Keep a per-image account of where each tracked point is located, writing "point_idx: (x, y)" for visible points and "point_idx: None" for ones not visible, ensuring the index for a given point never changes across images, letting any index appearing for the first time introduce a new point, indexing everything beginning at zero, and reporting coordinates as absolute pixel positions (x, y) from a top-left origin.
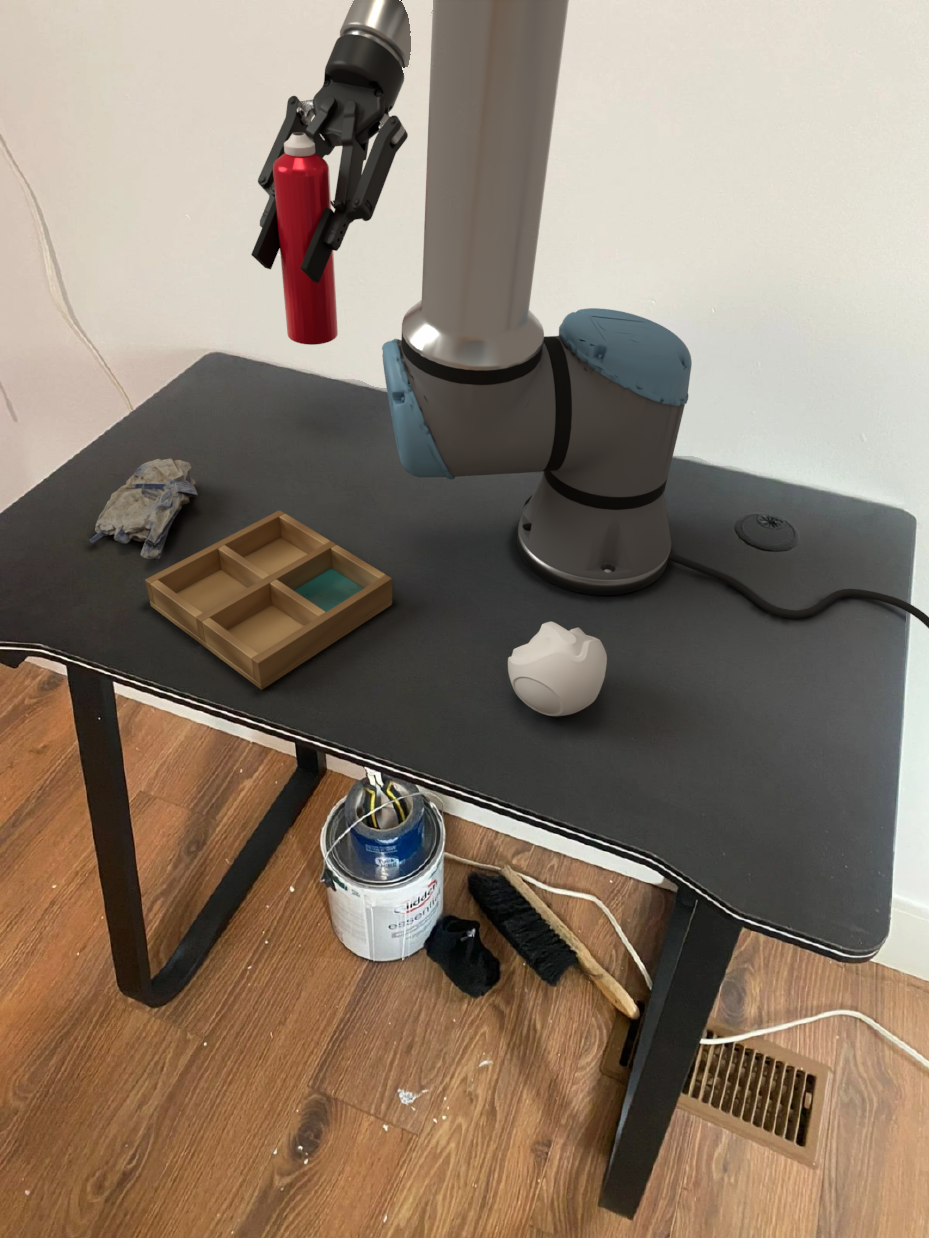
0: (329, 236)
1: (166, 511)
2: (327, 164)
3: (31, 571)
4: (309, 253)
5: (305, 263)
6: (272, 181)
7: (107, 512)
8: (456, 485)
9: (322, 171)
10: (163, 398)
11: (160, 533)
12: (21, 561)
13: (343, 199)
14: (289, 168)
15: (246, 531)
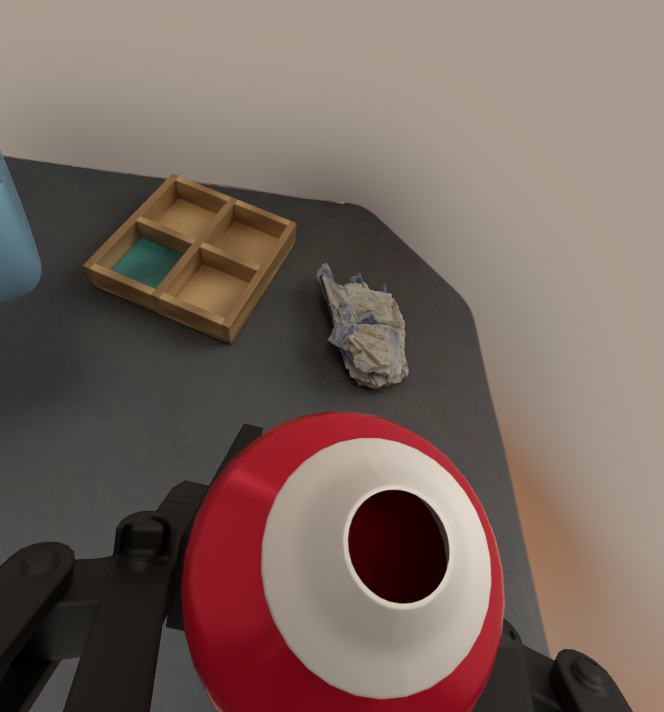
0: (190, 497)
1: (337, 305)
2: (195, 649)
3: (402, 255)
4: (244, 446)
5: (249, 431)
6: (551, 701)
7: (389, 300)
8: (34, 511)
9: (195, 520)
10: (526, 571)
11: (321, 275)
12: (417, 262)
13: (117, 575)
14: (348, 416)
15: (246, 290)
